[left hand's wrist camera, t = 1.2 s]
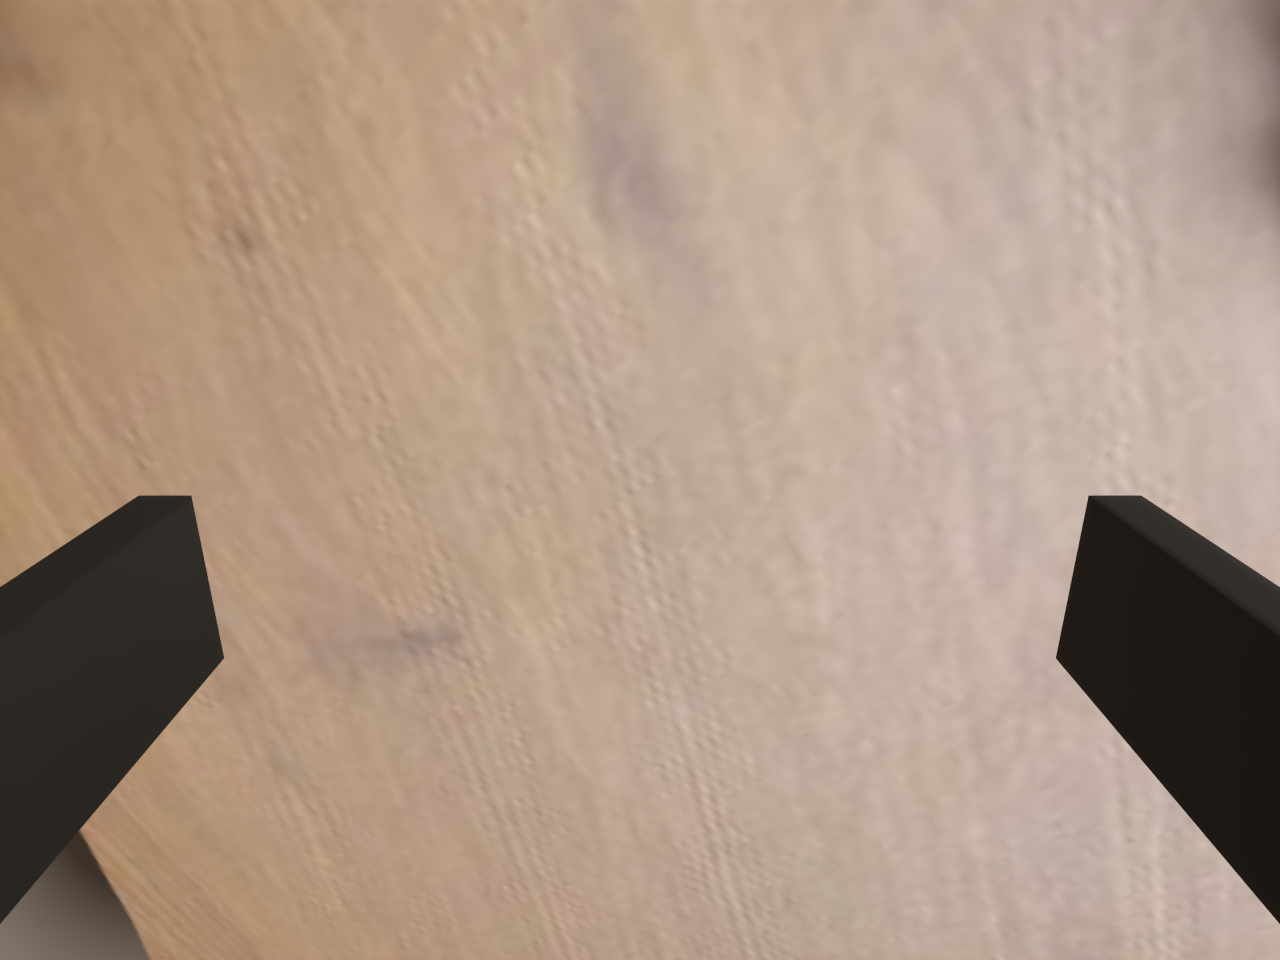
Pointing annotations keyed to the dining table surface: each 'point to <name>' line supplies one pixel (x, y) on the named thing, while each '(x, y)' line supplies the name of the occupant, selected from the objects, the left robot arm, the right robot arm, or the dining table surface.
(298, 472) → the dining table surface
